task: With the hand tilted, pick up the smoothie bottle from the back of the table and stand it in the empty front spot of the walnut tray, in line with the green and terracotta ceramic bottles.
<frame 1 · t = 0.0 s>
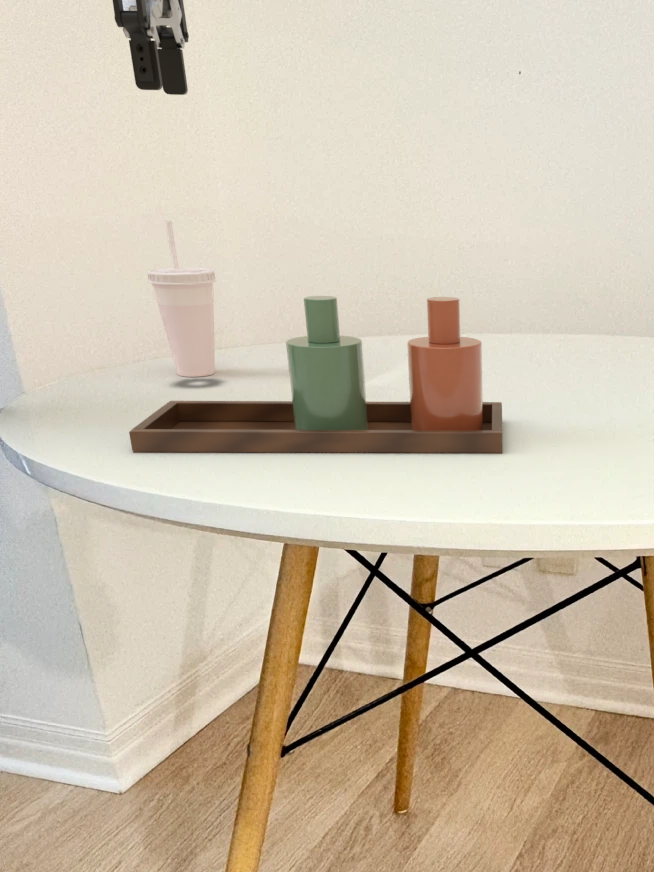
hand: (163, 92, 94), 25 cm above the table, tool pointing down, fingers open, 8 cm apart
ceramic bottles: (332, 435, 78), resting on tray
smoothie: (196, 375, 103), on the table
tray: (329, 443, 79), on the table
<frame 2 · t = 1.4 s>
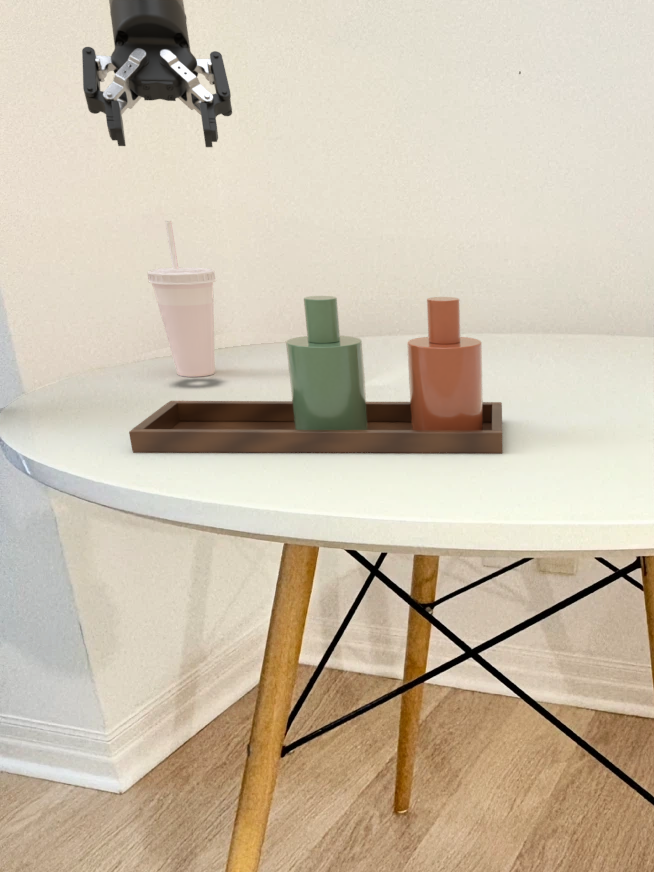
hand: (165, 140, 102), 21 cm above the table, tool tilted 45°, fingers open, 8 cm apart
nothing on the table moved.
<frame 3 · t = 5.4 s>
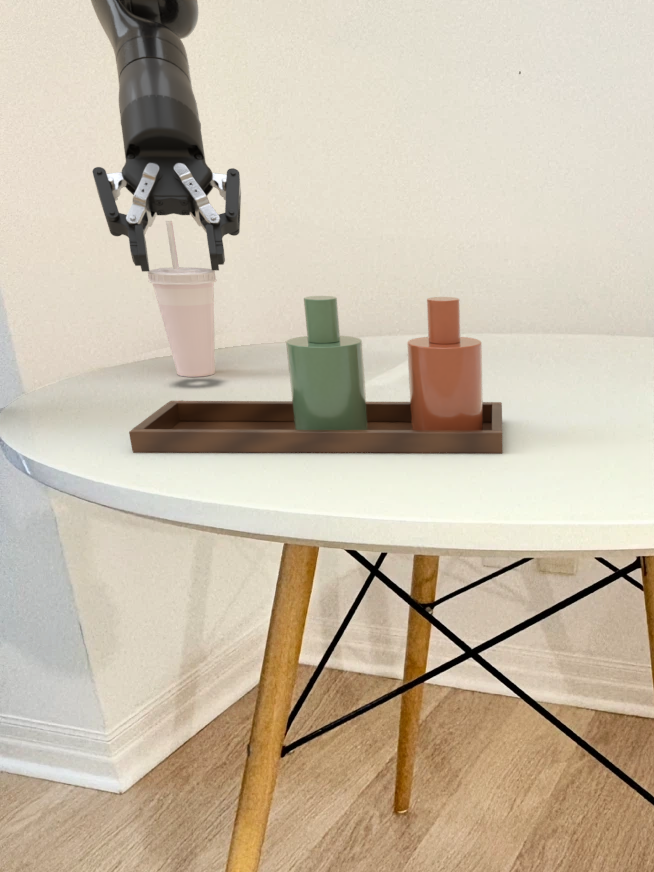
hand: (180, 264, 96), 10 cm above the table, tool tilted 45°, fingers closed on smoothie, 6 cm apart
smoothie: (196, 375, 103), on the table, touching gripper
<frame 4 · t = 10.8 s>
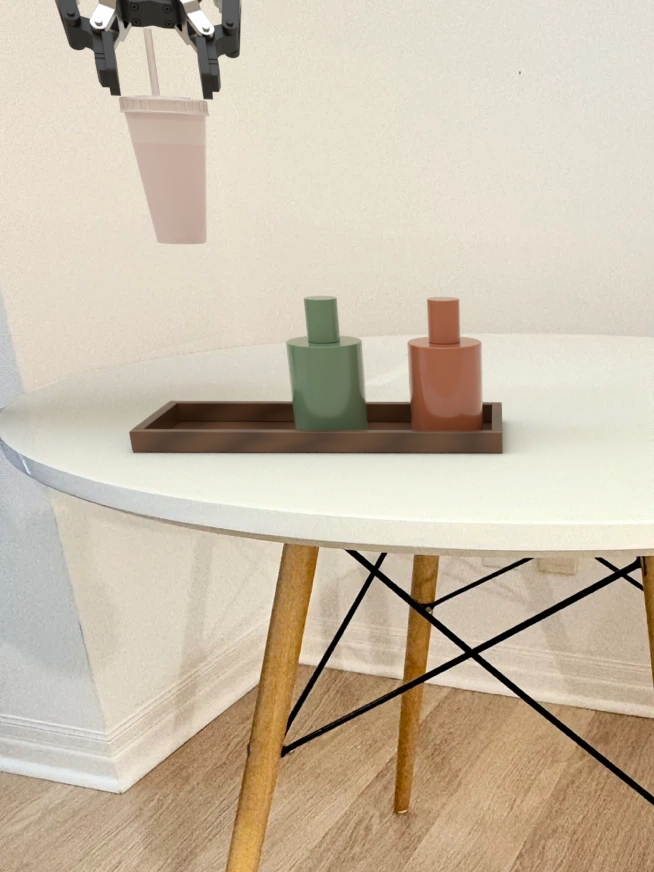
hand: (161, 87, 73), 24 cm above the table, tool tilted 45°, fingers closed on smoothie, 6 cm apart
smoothie: (182, 244, 80), point 13 cm above the table, touching gripper
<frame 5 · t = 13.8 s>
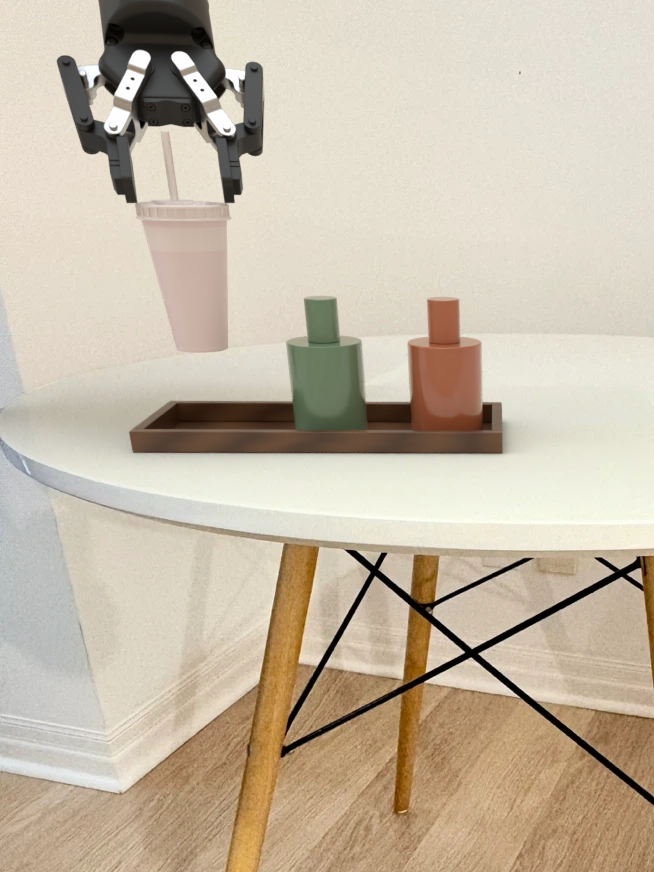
hand: (180, 193, 68), 17 cm above the table, tool tilted 45°, fingers closed on smoothie, 6 cm apart
smoothie: (203, 351, 75), point 7 cm above the table, touching gripper
when the fingers open (11 cm above the table, at t = 16.1 s): smoothie stays where it is, resting on tray.
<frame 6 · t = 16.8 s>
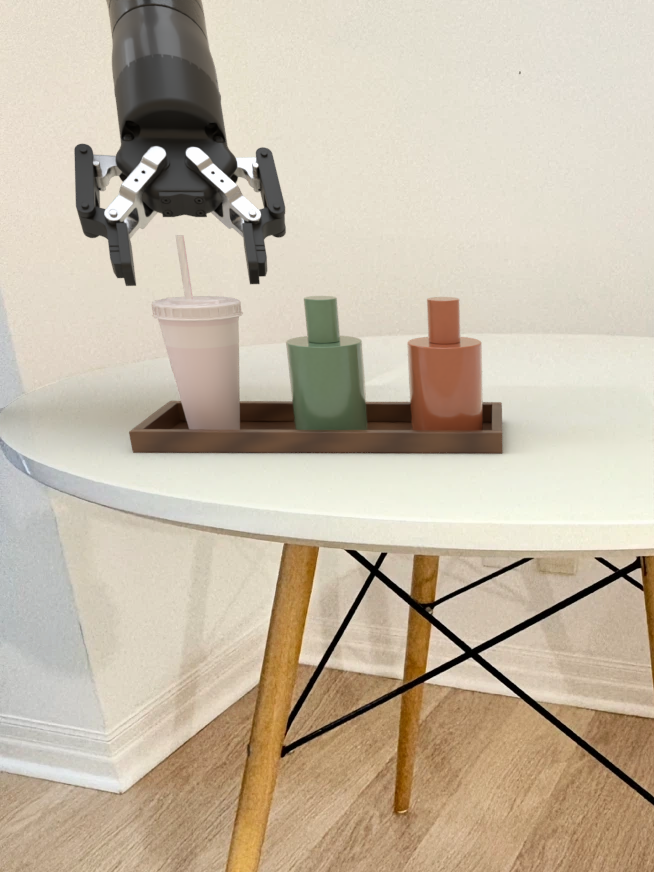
hand: (193, 277, 71), 12 cm above the table, tool tilted 45°, fingers open, 8 cm apart
smoothie: (216, 436, 78), resting on tray
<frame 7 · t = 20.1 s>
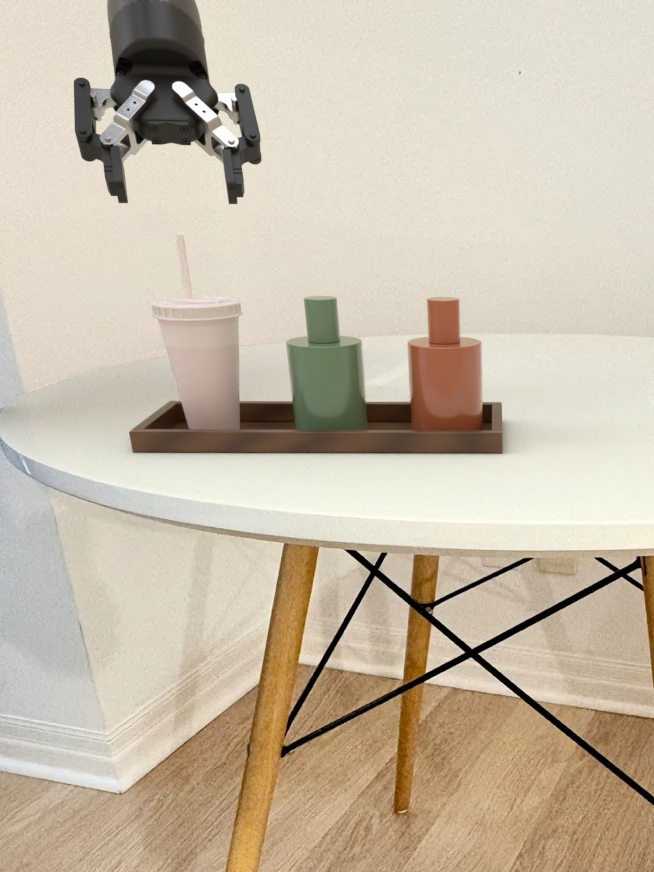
hand: (178, 196, 81), 17 cm above the table, tool tilted 45°, fingers open, 8 cm apart
nothing on the table moved.
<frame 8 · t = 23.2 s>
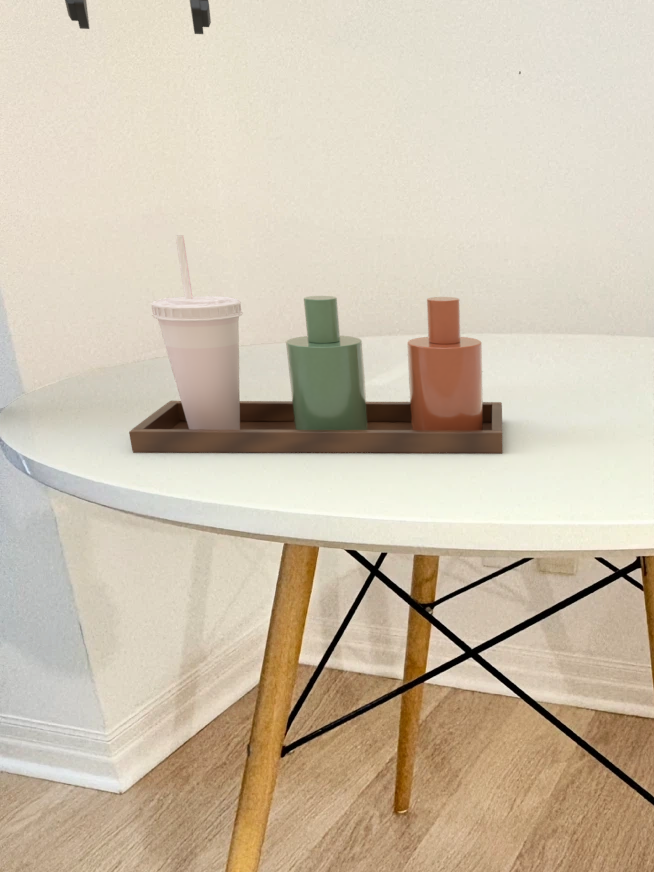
hand: (141, 21, 78), 29 cm above the table, tool tilted 45°, fingers open, 8 cm apart
nothing on the table moved.
at the end: smoothie 0.1 cm from the target spot on the tray, point 0.4 cm above the tray's base; smoothie tilted 0°; the gripper is holding nothing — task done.
